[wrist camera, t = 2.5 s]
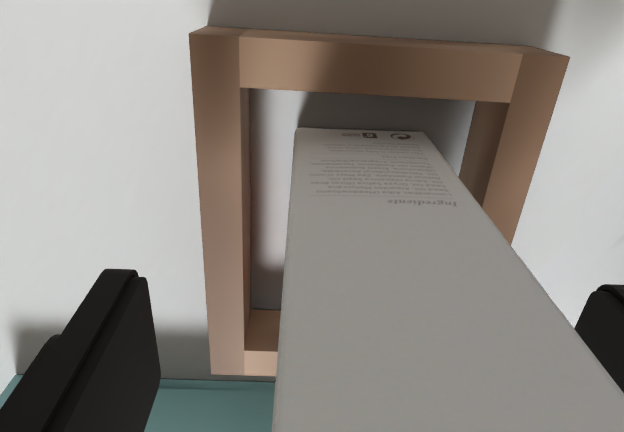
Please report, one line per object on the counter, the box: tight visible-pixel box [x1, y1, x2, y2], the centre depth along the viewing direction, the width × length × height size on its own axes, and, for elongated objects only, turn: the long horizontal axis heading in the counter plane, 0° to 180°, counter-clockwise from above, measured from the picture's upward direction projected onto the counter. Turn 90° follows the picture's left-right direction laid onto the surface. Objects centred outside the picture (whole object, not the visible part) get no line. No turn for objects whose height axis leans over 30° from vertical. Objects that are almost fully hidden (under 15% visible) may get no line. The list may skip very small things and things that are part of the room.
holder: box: [189, 26, 570, 376], centre depth 14 cm, size 9×11×2 cm
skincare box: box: [272, 128, 624, 432], centre depth 10 cm, size 6×4×12 cm
